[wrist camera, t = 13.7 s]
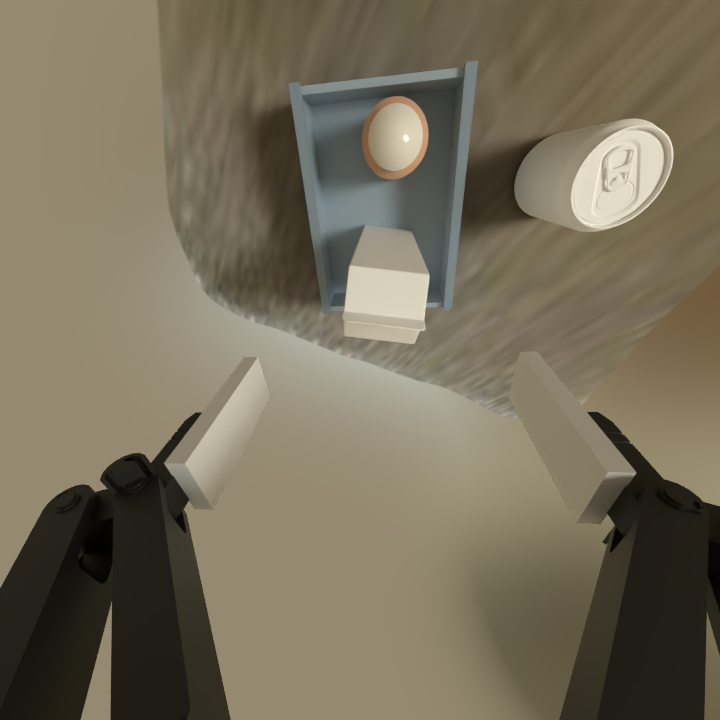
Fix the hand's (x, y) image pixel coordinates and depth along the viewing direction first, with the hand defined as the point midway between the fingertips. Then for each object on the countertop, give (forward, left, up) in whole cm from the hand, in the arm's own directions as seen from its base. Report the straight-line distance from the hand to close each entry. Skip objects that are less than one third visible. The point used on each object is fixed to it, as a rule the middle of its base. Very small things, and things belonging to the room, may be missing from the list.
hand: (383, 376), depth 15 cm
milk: (0, 0, -28) cm, 28 cm away
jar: (-11, +1, -28) cm, 30 cm away
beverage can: (-7, +19, -29) cm, 35 cm away
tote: (-5, 0, -29) cm, 29 cm away
